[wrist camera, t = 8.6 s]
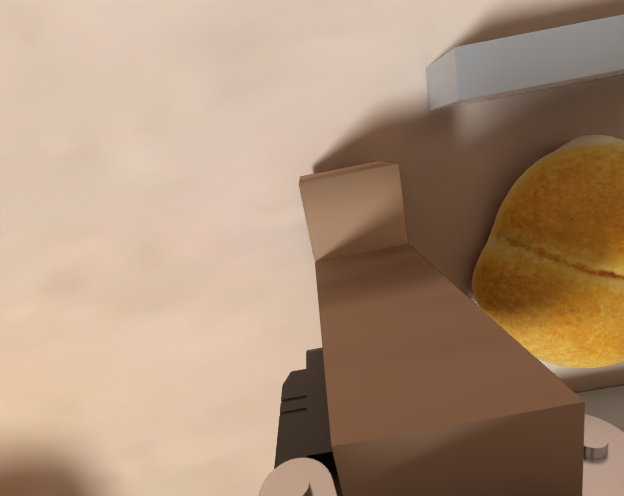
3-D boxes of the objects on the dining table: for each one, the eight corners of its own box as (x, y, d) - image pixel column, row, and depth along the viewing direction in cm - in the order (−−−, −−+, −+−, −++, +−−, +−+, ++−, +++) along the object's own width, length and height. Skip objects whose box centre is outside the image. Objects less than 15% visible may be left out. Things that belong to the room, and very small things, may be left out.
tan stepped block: (299, 176, 13) (285, 249, 3) (377, 160, 13) (590, 188, 3) (348, 410, 16) (412, 800, 6) (411, 398, 16) (574, 778, 6)
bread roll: (442, 323, 16) (487, 378, 12) (518, 122, 13) (603, 108, 10) (605, 359, 16) (698, 422, 12) (703, 172, 14) (854, 178, 10)
